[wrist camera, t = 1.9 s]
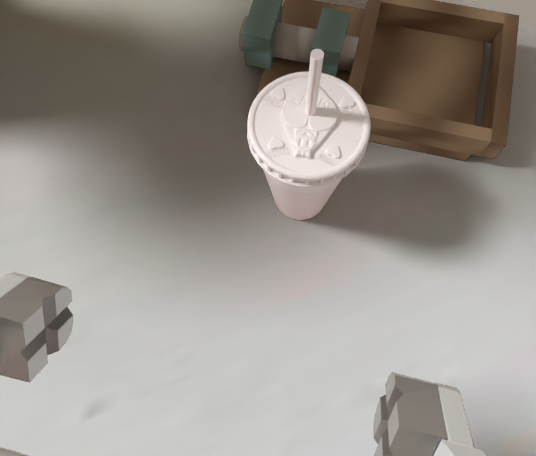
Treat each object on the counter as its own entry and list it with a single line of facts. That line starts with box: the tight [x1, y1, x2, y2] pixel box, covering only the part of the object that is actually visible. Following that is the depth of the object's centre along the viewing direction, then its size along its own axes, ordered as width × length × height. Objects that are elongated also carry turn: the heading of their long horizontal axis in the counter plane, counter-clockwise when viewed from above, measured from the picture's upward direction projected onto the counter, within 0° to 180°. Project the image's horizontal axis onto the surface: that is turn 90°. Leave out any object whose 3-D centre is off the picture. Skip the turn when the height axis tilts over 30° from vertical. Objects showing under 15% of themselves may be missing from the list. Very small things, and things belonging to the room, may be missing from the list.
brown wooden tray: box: [240, 0, 519, 161], centre depth 33 cm, size 20×11×4 cm, turn 76°
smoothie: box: [247, 49, 371, 220], centre depth 25 cm, size 6×6×14 cm
